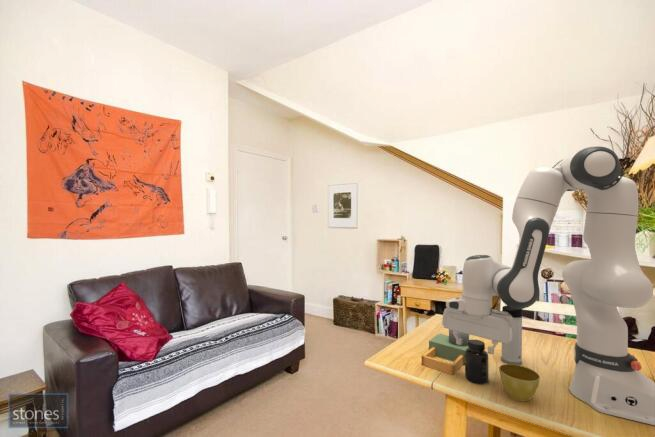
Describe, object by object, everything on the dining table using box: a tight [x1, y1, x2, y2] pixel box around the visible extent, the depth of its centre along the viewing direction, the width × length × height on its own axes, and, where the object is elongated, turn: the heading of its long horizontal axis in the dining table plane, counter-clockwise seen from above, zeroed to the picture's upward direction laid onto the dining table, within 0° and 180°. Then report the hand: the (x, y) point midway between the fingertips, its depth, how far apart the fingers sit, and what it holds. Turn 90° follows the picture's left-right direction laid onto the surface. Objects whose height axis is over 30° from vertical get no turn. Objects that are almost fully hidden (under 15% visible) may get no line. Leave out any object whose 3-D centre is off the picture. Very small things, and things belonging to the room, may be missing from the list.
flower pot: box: [498, 363, 541, 402], centre depth 91 cm, size 10×10×7 cm
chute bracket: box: [421, 347, 464, 376], centre depth 110 cm, size 11×10×3 cm
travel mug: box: [500, 305, 523, 366], centre depth 113 cm, size 6×7×20 cm
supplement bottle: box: [464, 339, 490, 385], centre depth 100 cm, size 7×7×12 cm
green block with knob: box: [428, 329, 470, 366], centre depth 118 cm, size 14×10×10 cm
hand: (474, 348), depth 100 cm, fingers open, 8 cm apart
